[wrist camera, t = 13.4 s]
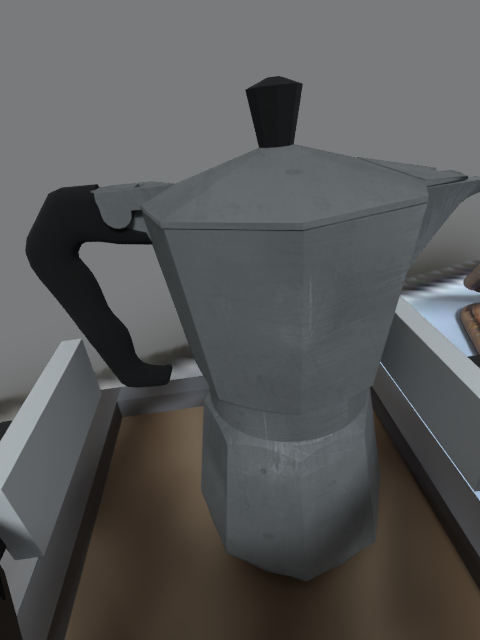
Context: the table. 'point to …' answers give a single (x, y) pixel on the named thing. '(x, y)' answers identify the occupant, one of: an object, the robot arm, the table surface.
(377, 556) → the tray
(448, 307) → the table surface
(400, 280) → the coffeepot
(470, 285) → the case
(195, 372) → the table surface
